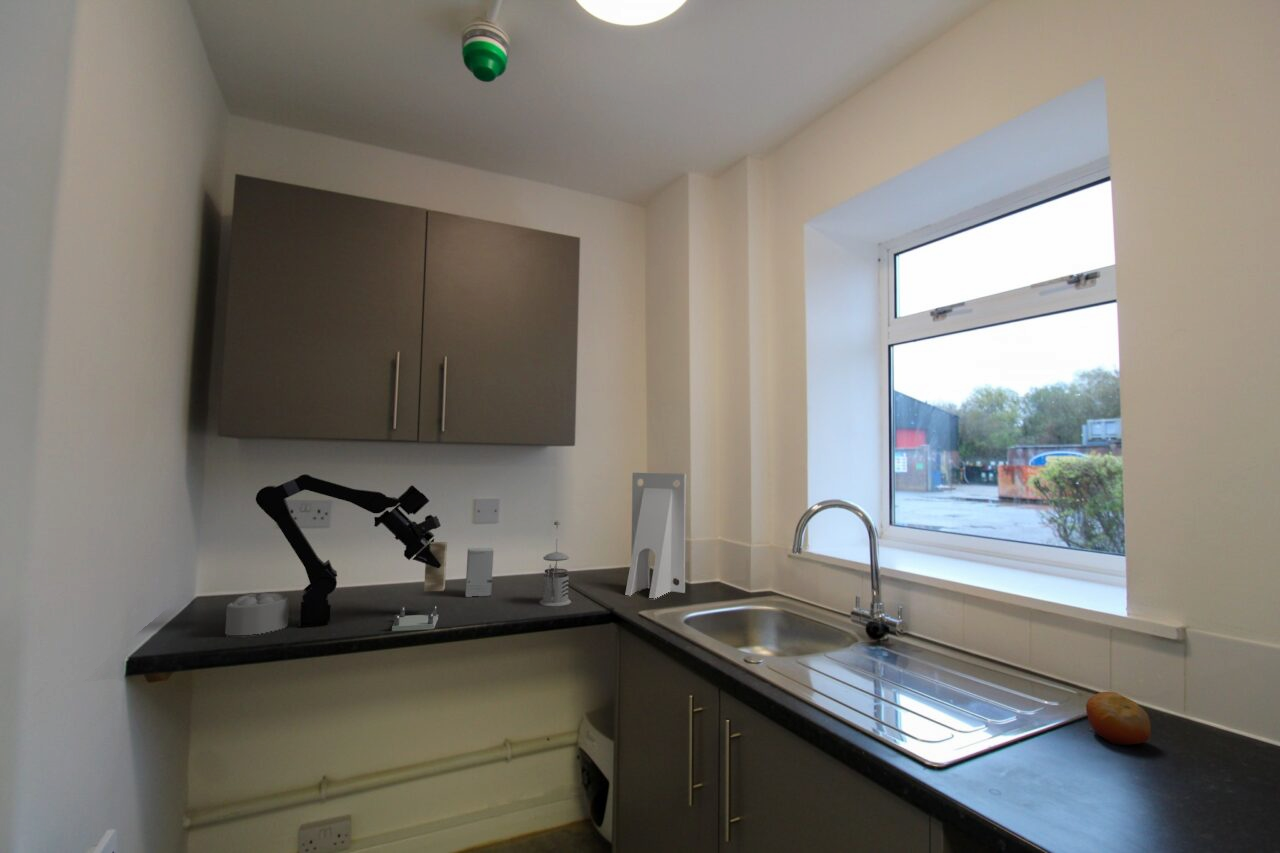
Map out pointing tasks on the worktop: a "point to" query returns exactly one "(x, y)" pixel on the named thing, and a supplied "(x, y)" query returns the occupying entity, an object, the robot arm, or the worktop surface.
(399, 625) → the peg board
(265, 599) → the lumpy-topped squat cylinder
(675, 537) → the grey wedge bracket
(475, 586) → the skincare box
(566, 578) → the french press
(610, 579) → the worktop surface
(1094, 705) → the fruit
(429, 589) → the birch post
